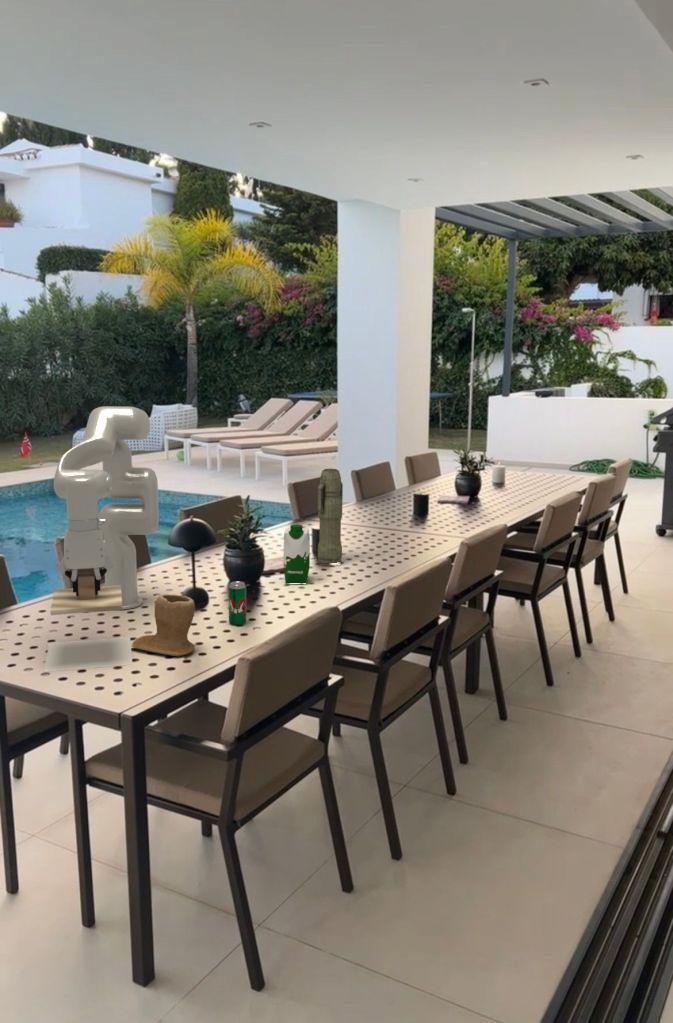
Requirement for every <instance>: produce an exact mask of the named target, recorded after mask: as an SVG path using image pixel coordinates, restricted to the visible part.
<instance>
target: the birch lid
mask: <svg viewBox="0 0 673 1023" xmlns="http://www.w3.org/2000/svg"><path fill="white" fill-rule="evenodd" d="M77 577H78V592H79V596H76V592H73V587H72V588H58V589H57V588H56V589H54V590H53V594H52V599H51V606H50V616H59V615H60V616H61V615H73V614H74V615H75V614H85V613H87V614H88V613H99V612H100V613H101V612H112V611H113V612H115V611H123V610H122V594H121V585H117V586H104V585H103V586H100V589H101V591H98V595H95V581H94V580H95V572H94V571H92V572H77Z"/></svg>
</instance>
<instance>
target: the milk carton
mask: <svg viewBox="0 0 673 1023" xmlns="http://www.w3.org/2000/svg"><path fill="white" fill-rule="evenodd" d="M283 534H284V535H283V574H284V582H285V584H286V583H306V582H308V577H309V572H310V567H311V566H310V564H311V562H310V561H311V560H310V559H311V558H310V557H311V552H310V551H311V548H310V547H311V545H310V544H311V542H310V541H311V536H310V531H309V527H308V528H307V527H306V528H305V527H303V524H298V523H297V524H291V525H290V527H286V528H285V530H284V533H283ZM306 584H307V583H306Z"/></svg>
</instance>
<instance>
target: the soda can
mask: <svg viewBox="0 0 673 1023" xmlns="http://www.w3.org/2000/svg"><path fill="white" fill-rule="evenodd" d="M245 584H246V583H245V582H244V581H236V580H235V581H232V582H229V586H228V587H227V591H228V592H227V593H228V623H229V624H230V625H232V626H243V625H245V624H246V623H247V585H245Z"/></svg>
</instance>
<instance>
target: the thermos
mask: <svg viewBox="0 0 673 1023" xmlns="http://www.w3.org/2000/svg"><path fill="white" fill-rule="evenodd" d="M319 478H320V479H319V484H318V487H317V513H318V514H317V516H318V519H319V524H318V525H319V529H318V531H319V532H318V533H319V540H318V545H317V557H318V558H317V559H318V560H317V562H318V561H319V562H322V563H337V562H341V563H342V558H343V546H342V542H341V540H342V539H341V536H342V528H341V526H342V518H343V495H344V494H343V492H344V491H343V488H344V486H343V485H344V484H343V482H342V477H341V473H340V470H338V469H336V468H324V469H323V470H322V471H321V473H320V477H319Z"/></svg>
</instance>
